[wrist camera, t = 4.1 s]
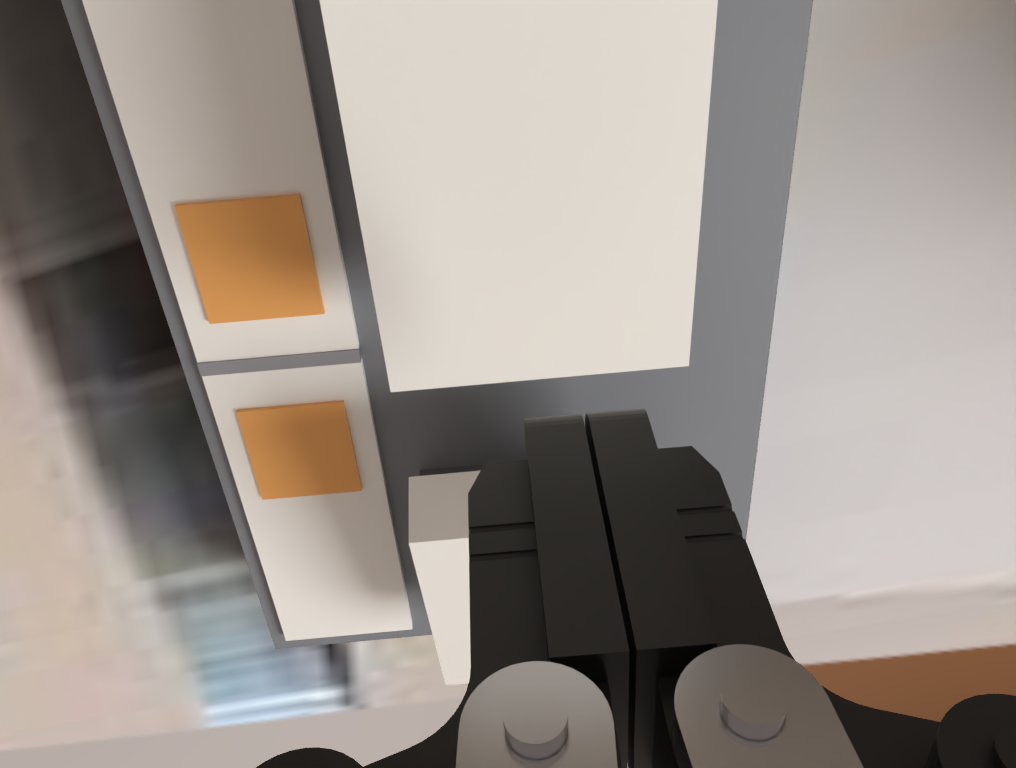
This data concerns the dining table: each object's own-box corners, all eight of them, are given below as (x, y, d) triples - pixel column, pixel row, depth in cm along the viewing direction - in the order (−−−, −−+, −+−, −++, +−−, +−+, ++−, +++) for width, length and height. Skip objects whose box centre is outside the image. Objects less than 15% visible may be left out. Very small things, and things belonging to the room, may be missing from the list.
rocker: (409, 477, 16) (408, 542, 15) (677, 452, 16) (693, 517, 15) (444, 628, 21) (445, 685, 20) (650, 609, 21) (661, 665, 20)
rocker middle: (327, -46, 12) (315, -22, 11) (695, -76, 12) (722, -55, 11) (393, 344, 16) (390, 392, 14) (671, 320, 16) (689, 366, 15)
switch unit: (-162, -1001, 10) (-474, -1412, 7) (851, -1066, 10) (1055, -1499, 7) (292, 563, 25) (267, 688, 21) (708, 526, 25) (751, 644, 22)
